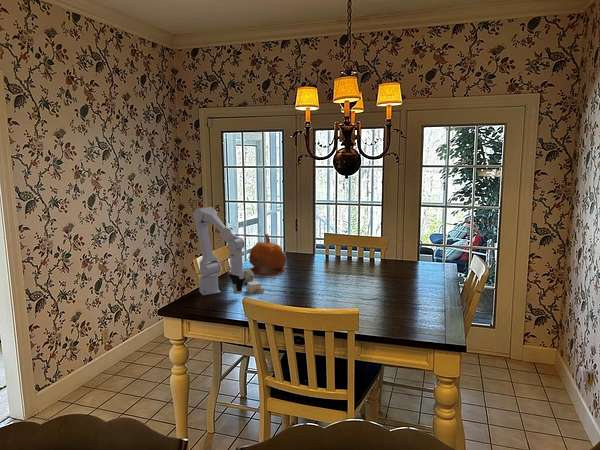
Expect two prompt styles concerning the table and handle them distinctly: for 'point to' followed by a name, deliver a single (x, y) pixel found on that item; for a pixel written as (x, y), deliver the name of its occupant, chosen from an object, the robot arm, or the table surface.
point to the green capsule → (236, 290)
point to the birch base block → (255, 290)
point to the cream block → (254, 285)
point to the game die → (248, 276)
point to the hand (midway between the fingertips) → (237, 289)
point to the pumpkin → (267, 258)
